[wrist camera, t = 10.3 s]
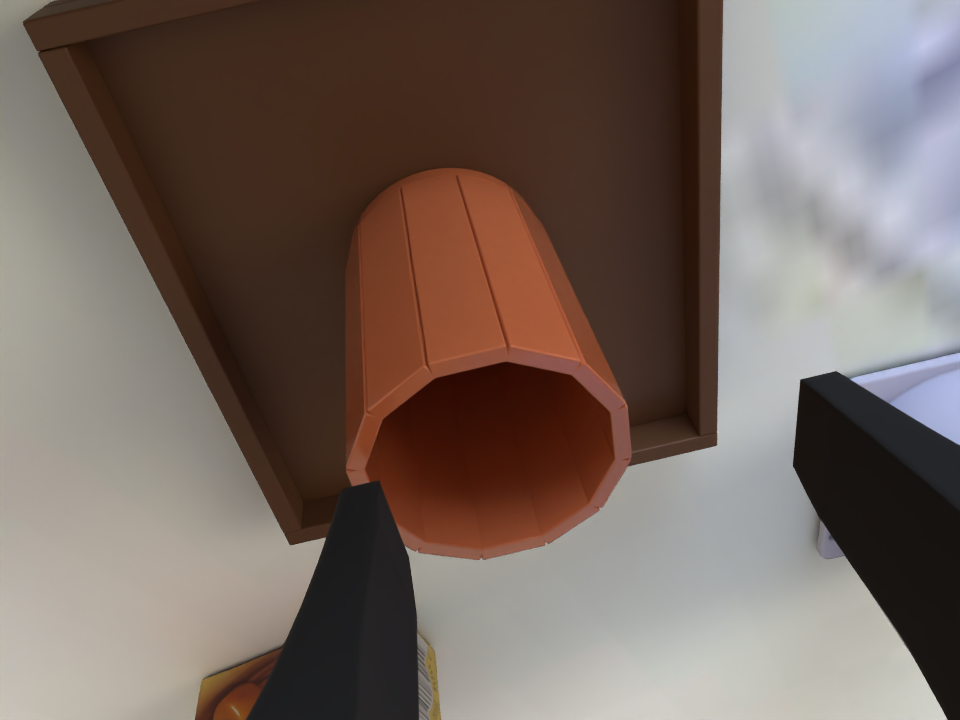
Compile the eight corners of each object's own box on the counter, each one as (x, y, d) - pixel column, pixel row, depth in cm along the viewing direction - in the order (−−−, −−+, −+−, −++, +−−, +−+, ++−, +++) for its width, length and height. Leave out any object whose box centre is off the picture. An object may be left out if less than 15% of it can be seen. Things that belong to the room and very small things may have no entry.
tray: (697, 410, 26) (717, 446, 25) (292, 505, 26) (289, 546, 25) (693, -145, 17) (726, -139, 15) (48, 1, 16) (20, 21, 15)
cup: (553, 317, 22) (637, 524, 16) (376, 358, 22) (390, 582, 16) (528, 145, 19) (621, 318, 13) (322, 193, 19) (312, 390, 13)
